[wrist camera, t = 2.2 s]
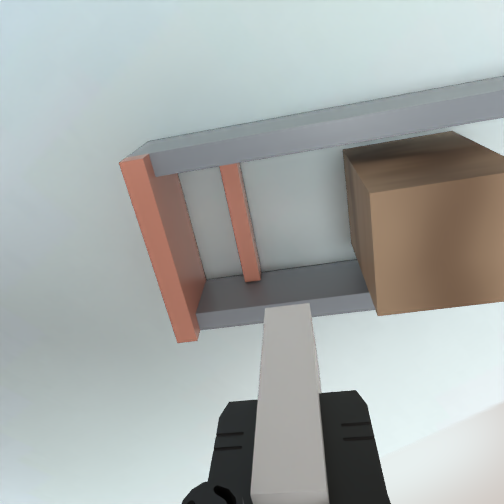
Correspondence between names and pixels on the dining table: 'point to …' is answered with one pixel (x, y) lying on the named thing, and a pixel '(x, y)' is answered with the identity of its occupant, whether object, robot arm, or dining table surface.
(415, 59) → the dining table surface
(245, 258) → the channel
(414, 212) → the block
